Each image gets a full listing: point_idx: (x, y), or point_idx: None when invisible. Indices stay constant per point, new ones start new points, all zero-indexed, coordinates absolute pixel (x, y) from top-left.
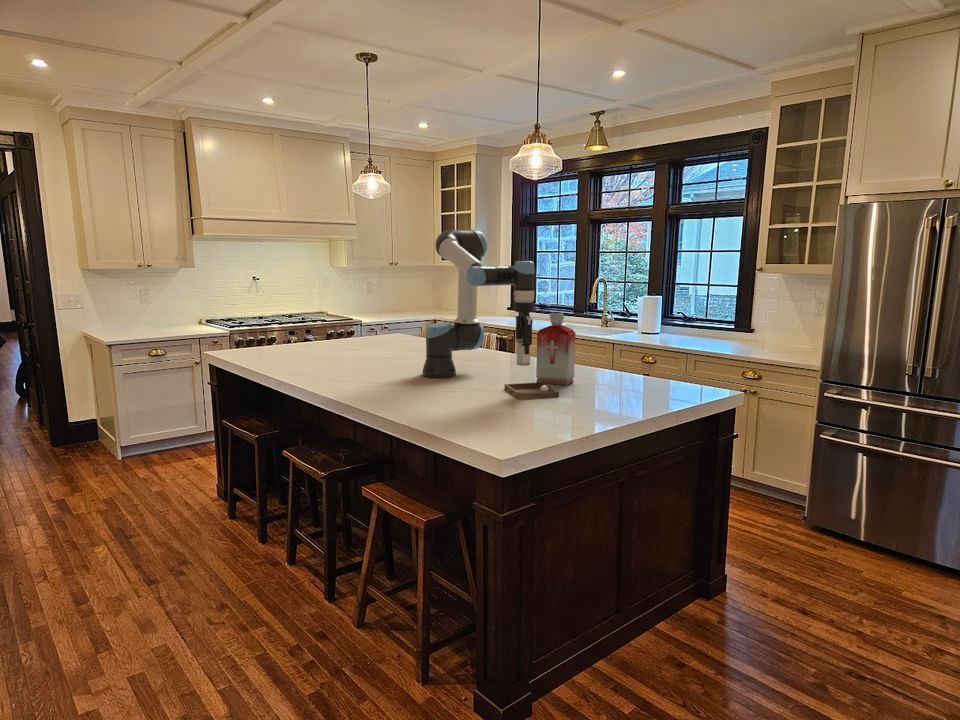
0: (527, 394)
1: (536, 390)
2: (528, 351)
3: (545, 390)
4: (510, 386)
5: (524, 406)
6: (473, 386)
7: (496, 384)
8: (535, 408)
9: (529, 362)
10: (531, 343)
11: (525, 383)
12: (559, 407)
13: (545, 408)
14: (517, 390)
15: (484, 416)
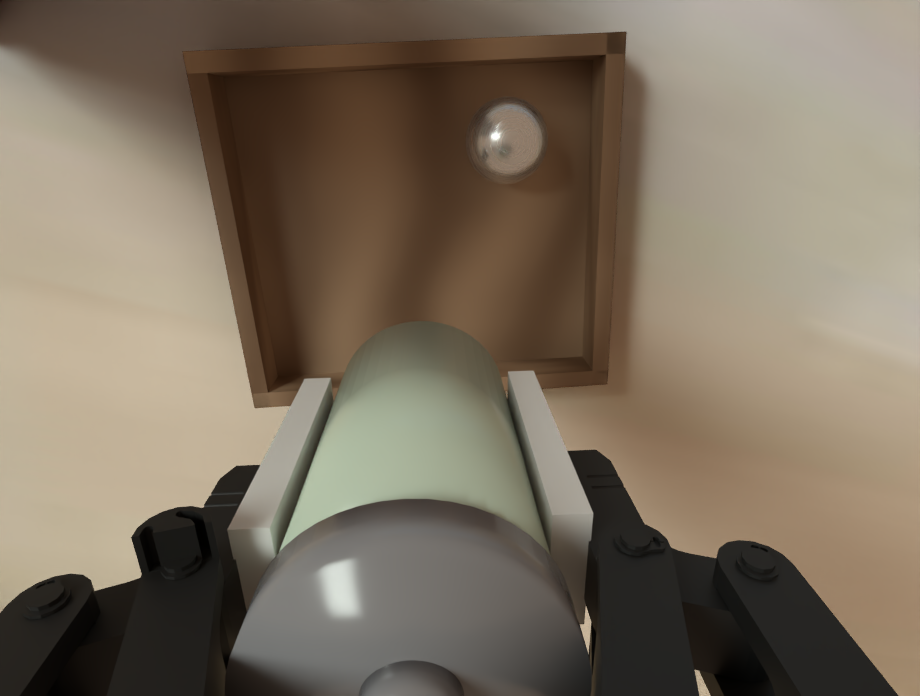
0: (607, 323)
1: (345, 157)
2: (617, 483)
3: (547, 143)
4: (266, 359)
5: (744, 373)
6: (126, 551)
7: (50, 397)
8: (817, 322)
9: (476, 350)
10: (787, 569)
11: (234, 233)
12: (867, 150)
13: (846, 259)
14: (325, 311)
15: (841, 601)
